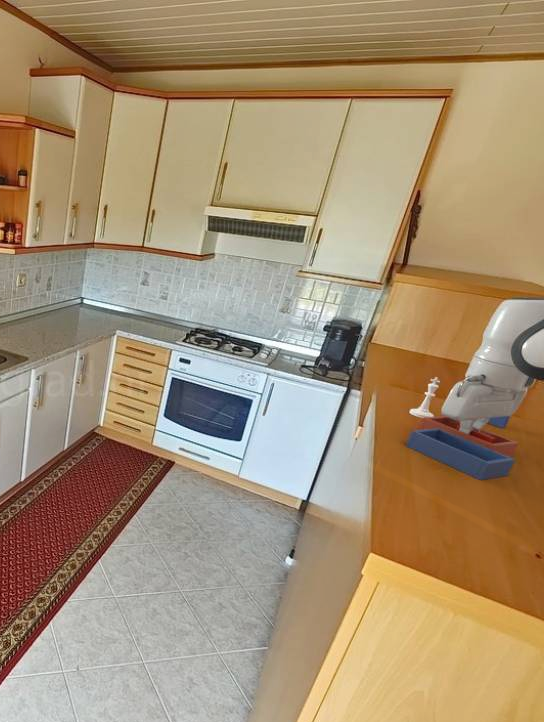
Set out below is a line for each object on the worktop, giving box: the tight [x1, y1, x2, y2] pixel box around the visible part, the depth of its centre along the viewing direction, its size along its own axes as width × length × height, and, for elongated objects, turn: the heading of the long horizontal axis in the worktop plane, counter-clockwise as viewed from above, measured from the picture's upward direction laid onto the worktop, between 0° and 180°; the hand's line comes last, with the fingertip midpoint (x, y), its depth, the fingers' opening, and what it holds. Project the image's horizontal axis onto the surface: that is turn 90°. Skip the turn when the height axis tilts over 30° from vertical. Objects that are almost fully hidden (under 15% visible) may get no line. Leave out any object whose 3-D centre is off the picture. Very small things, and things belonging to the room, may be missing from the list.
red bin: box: [417, 415, 519, 458], centre depth 105 cm, size 14×9×4 cm, turn 21°
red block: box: [456, 425, 495, 444], centre depth 105 cm, size 9×3×3 cm, turn 21°
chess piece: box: [408, 376, 441, 419], centre depth 119 cm, size 5×5×10 cm
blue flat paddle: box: [487, 415, 512, 429], centre depth 122 cm, size 9×3×3 cm, turn 21°
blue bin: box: [405, 428, 516, 481], centre depth 96 cm, size 14×9×4 cm, turn 21°
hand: (467, 435), depth 104 cm, fingers closed on red block
